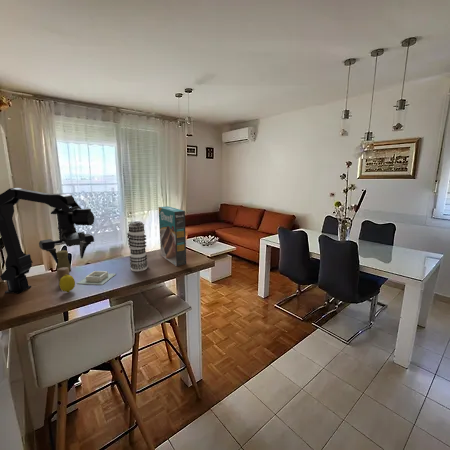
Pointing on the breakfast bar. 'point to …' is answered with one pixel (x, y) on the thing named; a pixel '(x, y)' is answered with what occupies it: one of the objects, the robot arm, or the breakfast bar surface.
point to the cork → (63, 259)
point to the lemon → (67, 283)
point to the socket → (97, 278)
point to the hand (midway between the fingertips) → (69, 260)
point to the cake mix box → (172, 235)
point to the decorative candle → (137, 246)
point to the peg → (62, 272)
